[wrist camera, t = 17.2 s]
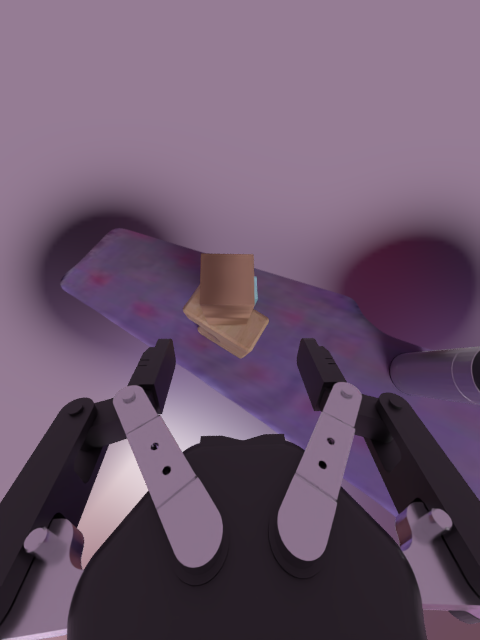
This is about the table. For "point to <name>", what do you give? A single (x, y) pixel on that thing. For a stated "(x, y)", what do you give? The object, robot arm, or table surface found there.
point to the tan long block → (227, 288)
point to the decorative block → (227, 328)
